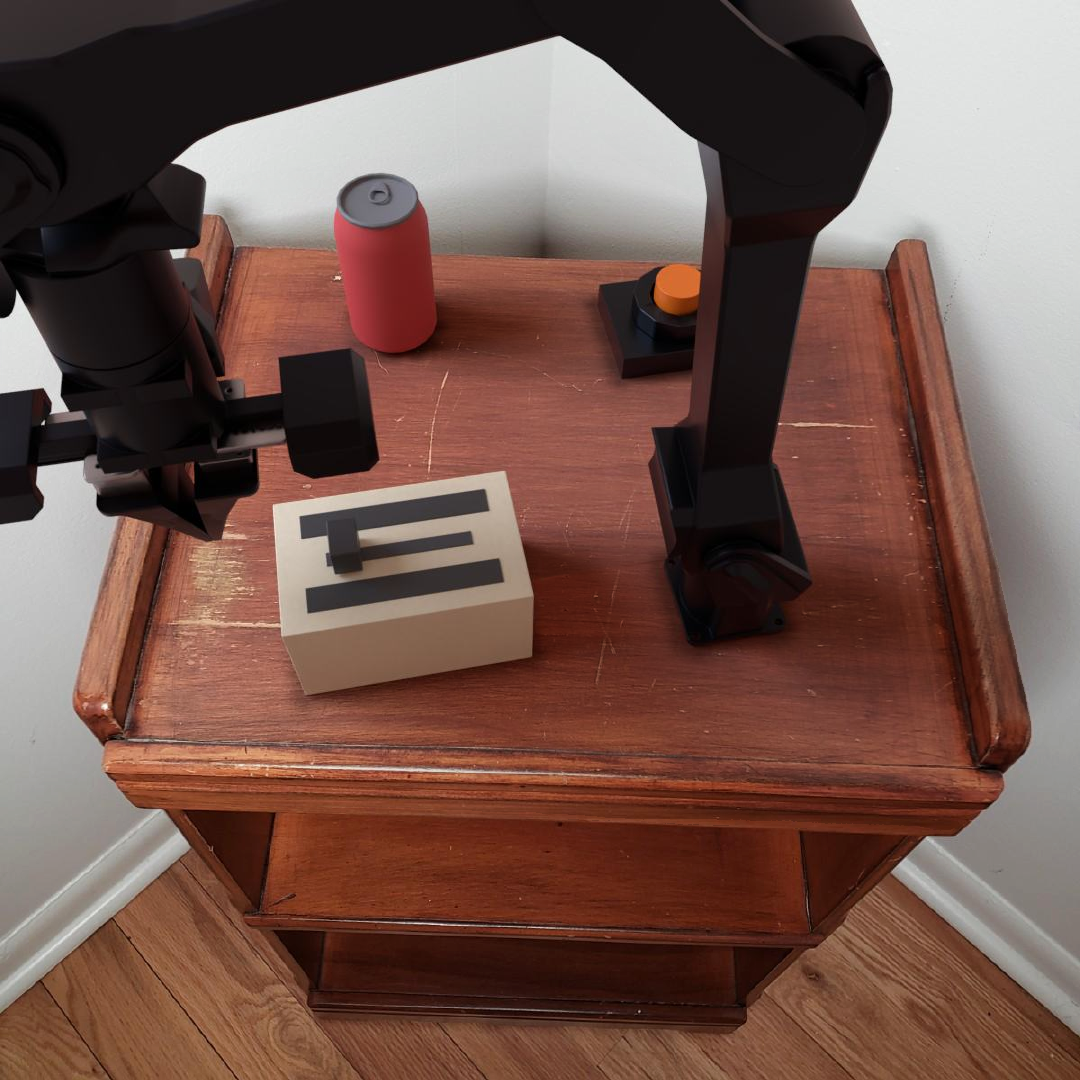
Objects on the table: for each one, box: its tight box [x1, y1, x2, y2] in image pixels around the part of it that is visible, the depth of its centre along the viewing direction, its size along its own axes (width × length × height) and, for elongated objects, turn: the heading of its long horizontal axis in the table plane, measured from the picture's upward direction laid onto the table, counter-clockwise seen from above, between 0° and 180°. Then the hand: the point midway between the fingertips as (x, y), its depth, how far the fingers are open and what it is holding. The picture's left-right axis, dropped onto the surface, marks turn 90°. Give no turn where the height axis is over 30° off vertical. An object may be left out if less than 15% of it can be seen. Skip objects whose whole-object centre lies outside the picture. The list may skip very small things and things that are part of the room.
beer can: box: [333, 172, 438, 354], centre depth 74 cm, size 7×7×12 cm
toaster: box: [272, 470, 535, 696], centre depth 62 cm, size 9×14×8 cm, turn 101°
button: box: [654, 263, 701, 315], centre depth 75 cm, size 4×4×2 cm
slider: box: [326, 517, 363, 575], centre depth 57 cm, size 2×2×2 cm
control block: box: [597, 264, 701, 380], centre depth 77 cm, size 8×10×4 cm
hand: (214, 533), depth 54 cm, fingers closed
